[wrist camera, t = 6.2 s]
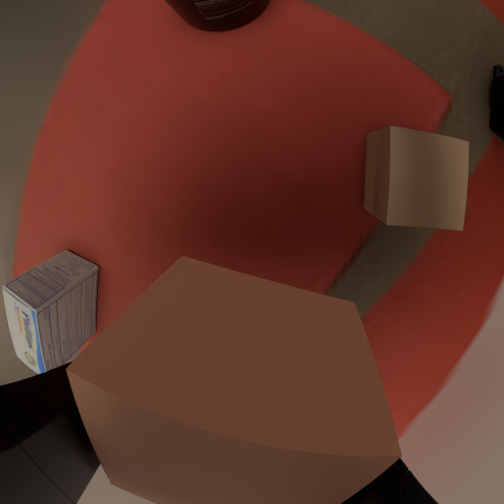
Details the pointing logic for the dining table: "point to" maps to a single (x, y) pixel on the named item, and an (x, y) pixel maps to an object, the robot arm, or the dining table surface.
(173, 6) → the supplement bottle
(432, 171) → the walnut block
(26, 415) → the robot arm
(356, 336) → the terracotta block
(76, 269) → the medicine box
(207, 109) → the dining table surface
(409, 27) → the dining table surface
